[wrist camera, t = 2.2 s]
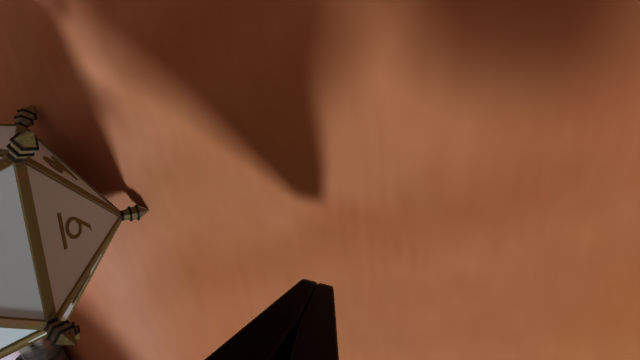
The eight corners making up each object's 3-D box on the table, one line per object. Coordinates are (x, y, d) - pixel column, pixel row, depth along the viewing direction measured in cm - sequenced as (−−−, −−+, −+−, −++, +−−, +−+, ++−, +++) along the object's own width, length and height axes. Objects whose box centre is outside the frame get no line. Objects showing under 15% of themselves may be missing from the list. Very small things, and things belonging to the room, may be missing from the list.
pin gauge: (83, 368, 21) (45, 409, 19) (52, 357, 22) (12, 395, 20) (36, 271, 17) (-17, 309, 15) (-1, 260, 18) (-57, 295, 16)
